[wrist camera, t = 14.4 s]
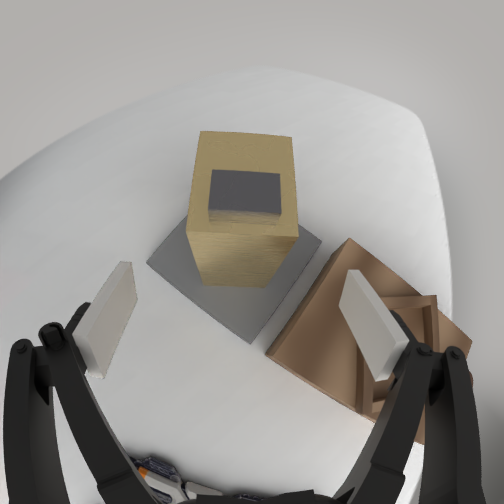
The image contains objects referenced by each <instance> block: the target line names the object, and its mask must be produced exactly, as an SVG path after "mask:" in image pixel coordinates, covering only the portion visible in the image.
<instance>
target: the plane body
mask: <svg viewBox="0 0 504 504" xmlns="http://www.w3.org/2000/svg"><path fill="white" fill-rule="evenodd" d="M348 270H359V271H360V272H361V273H362V274H363V276H364V277H365V278H366V280H367V281H368V282H369V284H370V285H371V286H372V288H373V289H374V291H375V292H376V293H377V295H378V296H379V297H380V299H381V300H382V302H383V303H384V304H385V306H386V307H387V309H388V310H394V311H395V312H396V313H397V314H399V315H400V316H401V318H402V319H403V321H404V322H405V323H406V325H407V327H408V328H409V329H410V331H411V332H412V333H413V335H414V336H415V338H416V339H417V341H418V342H422V343H425V344H427V345H429V346H430V347H431V348H432V349H433V351H434V352H440V353H444V352H445V350H446V348H447V347H448V346H456V347H458V348H460V349H461V350H462V351H463V352H464V354H465V357H466V358H467V355H468V353H469V350H470V347H471V344H472V340H471V339H470V338H469V337H468V336H467V335H465V334H464V333H463V332H462V331H461V330H460V329H459V328H458V327H457V326H456V325H455V324H454V323H453V322H452V321H450V320H449V319H448V318H447V317H446V316H445V315H444V314H443V313H442V312H440V311H439V310H438V307H437V297H436V295H429V296H422V295H421V294H420V293H419V292H417V291H416V290H415V289H414V288H413V287H411V286H410V285H409V284H408V283H407V282H405V281H404V280H403V279H402V278H401V277H399V276H398V275H397V274H396V273H394V272H393V271H392V270H391V269H389V268H388V267H387V266H386V265H384V264H383V263H382V262H381V261H379V260H378V259H377V258H375V257H374V256H373V255H372V254H370V253H369V252H368V251H366V250H365V249H364V248H363V247H361V246H360V245H359V244H357V243H356V242H355V241H353V240H352V239H351V238H349V239H348V240H347V241H345V242H344V243H343V244H342V245H341V246H340V247H339V248H338V249H337V250H336V251H335V252H334V253H333V254H332V255H331V257H330V258H329V260H328V261H327V263H326V265H325V266H324V268H323V269H322V271H321V273H320V274H319V276H318V277H317V279H316V280H315V282H314V283H313V285H312V287H311V288H310V290H309V291H308V293H307V294H306V296H305V297H304V299H303V300H302V302H301V303H300V305H299V306H298V308H297V309H296V311H295V312H294V314H293V315H292V316H291V318H290V319H289V321H288V322H287V324H286V325H285V327H284V328H283V329H282V331H281V332H280V334H279V335H278V337H277V338H276V339H275V341H274V342H273V344H272V345H271V346H270V348H269V349H268V351H267V352H266V353H265V356H267V357H268V358H270V359H271V360H273V361H274V362H276V363H277V364H279V365H280V366H282V367H283V368H285V369H286V370H288V371H289V372H291V373H292V374H294V375H295V376H297V377H298V378H300V379H302V380H303V381H305V382H306V383H308V384H309V385H311V386H313V387H314V388H316V389H317V390H319V391H321V392H322V393H324V394H326V395H327V396H329V397H330V398H332V399H334V400H335V401H337V402H339V403H341V404H342V405H344V406H346V407H347V408H349V409H351V410H353V411H354V412H356V413H358V414H360V415H361V416H363V417H365V418H367V419H369V420H370V421H372V422H374V423H376V421H377V418H378V416H379V414H380V412H381V409H382V407H383V404H384V402H385V400H386V397H387V395H388V392H389V391H388V390H387V389H388V388H389V386H390V384H391V383H392V381H393V380H394V378H395V375H394V373H393V371H392V373H391V375H390V376H389V378H388V379H387V380H381V381H375V379H374V377H373V375H372V373H371V371H370V369H369V366H368V364H367V362H366V360H365V358H364V356H363V354H362V352H361V350H360V348H359V346H358V344H357V341H356V339H355V337H354V335H353V333H352V331H351V329H350V327H349V325H348V323H347V321H346V319H345V317H344V315H343V313H342V312H341V310H340V308H339V302H340V299H341V295H342V292H343V288H344V284H345V280H346V277H347V273H348ZM469 374H470V379H471V383H472V388H473V377H472V374H471V373H470V371H469ZM414 442H417V443H419V444H422V445H424V443H425V405H424V408H423V412H422V416H421V420H420V423H419V427H418V430H417V433H416V436H415V440H414Z"/></svg>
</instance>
